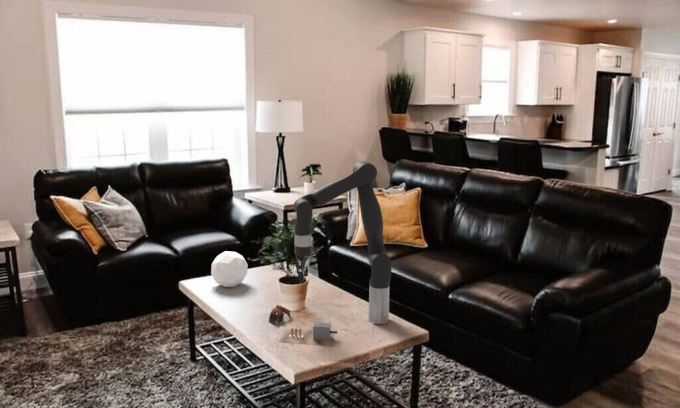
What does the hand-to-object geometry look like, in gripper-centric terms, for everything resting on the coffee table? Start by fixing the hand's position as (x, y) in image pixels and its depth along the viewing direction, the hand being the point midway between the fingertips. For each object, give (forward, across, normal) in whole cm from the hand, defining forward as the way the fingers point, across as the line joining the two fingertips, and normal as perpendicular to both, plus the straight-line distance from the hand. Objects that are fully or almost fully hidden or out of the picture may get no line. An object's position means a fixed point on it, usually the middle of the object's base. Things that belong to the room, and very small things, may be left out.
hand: (303, 279), depth 255 cm
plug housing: (+22, -13, -12) cm, 28 cm away
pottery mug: (+23, +5, +13) cm, 27 cm away
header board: (+23, -13, -4) cm, 27 cm away
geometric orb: (+23, +46, +52) cm, 73 cm away
